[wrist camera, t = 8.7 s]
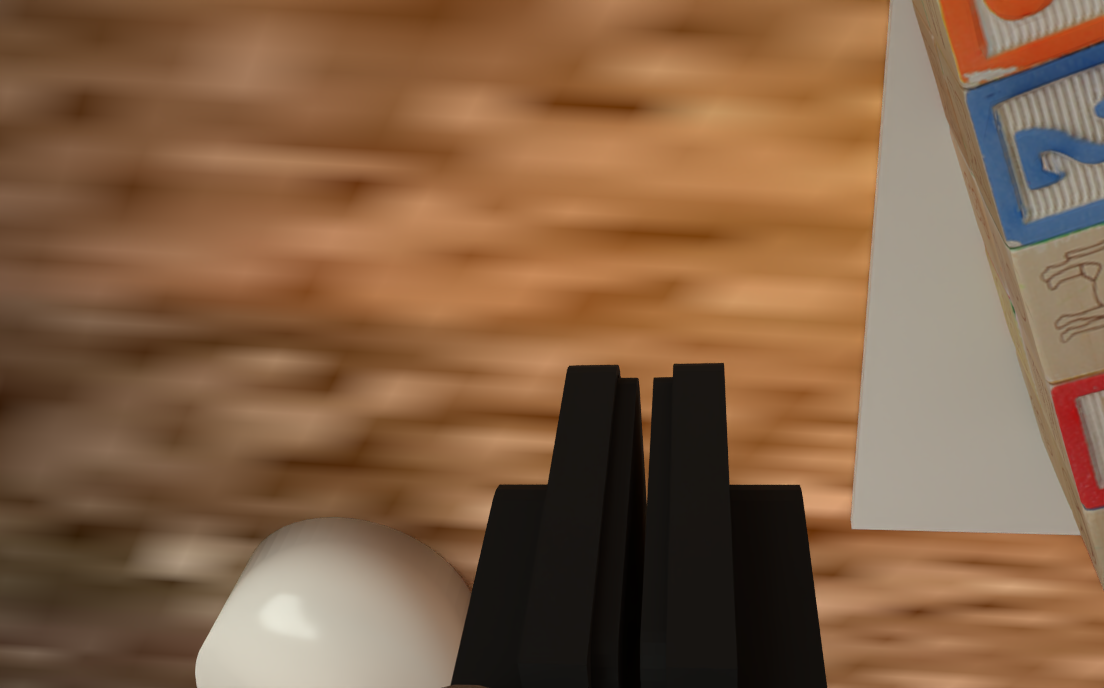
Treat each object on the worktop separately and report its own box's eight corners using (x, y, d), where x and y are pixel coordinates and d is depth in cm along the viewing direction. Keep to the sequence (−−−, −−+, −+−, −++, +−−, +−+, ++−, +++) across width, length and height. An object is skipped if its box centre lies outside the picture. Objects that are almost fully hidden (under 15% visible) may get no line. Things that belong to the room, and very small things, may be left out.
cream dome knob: (219, 510, 33) (162, 603, 30) (462, 518, 32) (431, 615, 29) (276, 680, 38) (232, 777, 34) (493, 692, 36) (469, 795, 33)
